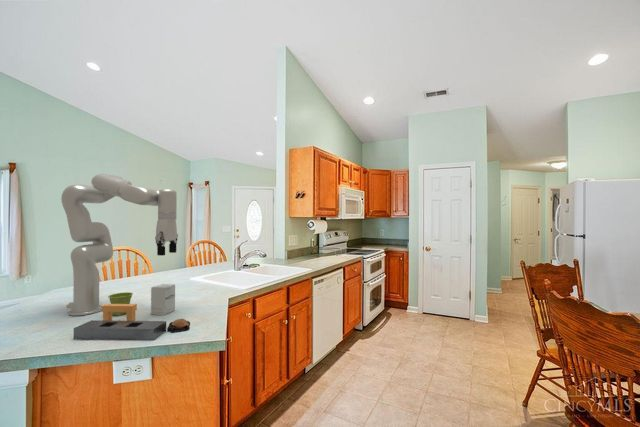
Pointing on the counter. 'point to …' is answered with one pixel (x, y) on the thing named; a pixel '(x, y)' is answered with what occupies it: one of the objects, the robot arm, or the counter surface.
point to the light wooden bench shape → (110, 308)
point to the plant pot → (120, 300)
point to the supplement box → (162, 299)
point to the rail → (120, 330)
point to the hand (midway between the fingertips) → (167, 253)
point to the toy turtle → (178, 326)
